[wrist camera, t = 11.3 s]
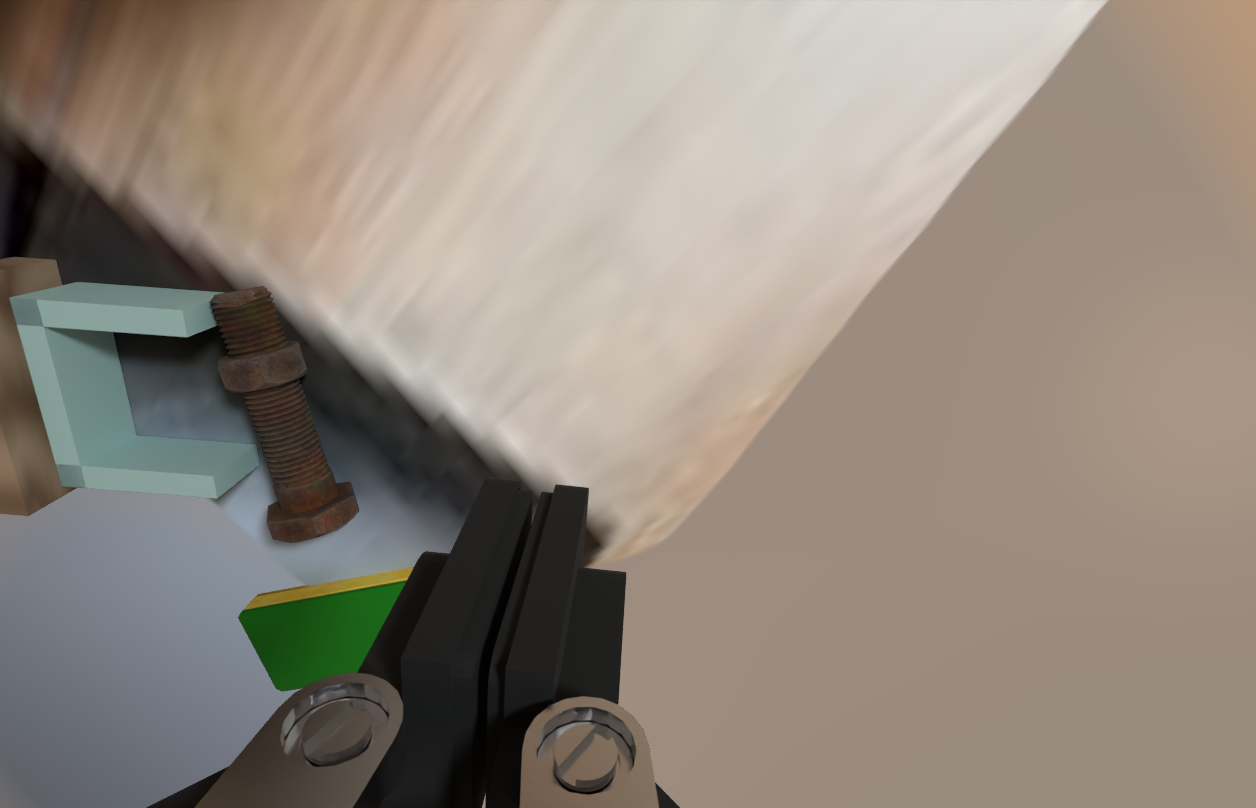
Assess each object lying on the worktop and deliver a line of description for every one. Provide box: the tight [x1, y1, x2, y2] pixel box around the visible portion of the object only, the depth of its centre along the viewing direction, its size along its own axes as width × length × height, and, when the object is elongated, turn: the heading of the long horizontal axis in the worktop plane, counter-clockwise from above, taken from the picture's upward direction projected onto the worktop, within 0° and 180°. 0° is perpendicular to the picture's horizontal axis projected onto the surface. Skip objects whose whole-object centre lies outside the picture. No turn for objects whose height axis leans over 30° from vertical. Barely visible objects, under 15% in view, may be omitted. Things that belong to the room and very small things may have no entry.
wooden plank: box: [0, 257, 77, 516], centre depth 39 cm, size 14×2×6 cm, turn 176°
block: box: [9, 282, 259, 498], centre depth 40 cm, size 12×10×4 cm
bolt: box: [209, 286, 359, 543], centre depth 40 cm, size 6×5×15 cm
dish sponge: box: [238, 567, 414, 691], centre depth 47 cm, size 7×14×2 cm, turn 104°
